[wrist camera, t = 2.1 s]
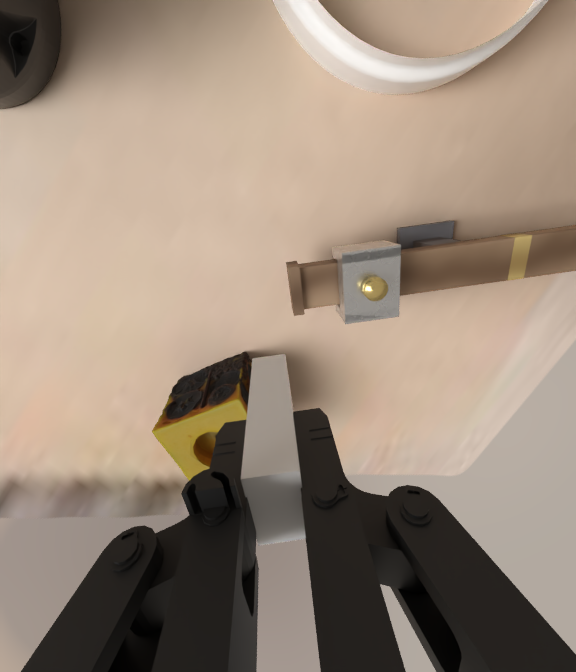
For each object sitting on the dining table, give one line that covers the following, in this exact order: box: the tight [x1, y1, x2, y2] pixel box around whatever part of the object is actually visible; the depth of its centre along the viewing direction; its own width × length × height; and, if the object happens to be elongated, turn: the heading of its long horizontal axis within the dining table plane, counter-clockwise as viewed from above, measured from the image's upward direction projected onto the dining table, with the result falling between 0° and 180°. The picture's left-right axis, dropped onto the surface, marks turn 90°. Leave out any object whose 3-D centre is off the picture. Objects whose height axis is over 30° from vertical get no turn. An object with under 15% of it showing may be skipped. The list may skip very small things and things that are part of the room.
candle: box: [152, 352, 252, 481], centre depth 36 cm, size 10×10×10 cm
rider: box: [332, 240, 401, 324], centre depth 27 cm, size 6×5×5 cm
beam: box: [286, 221, 576, 316], centre depth 31 cm, size 7×32×8 cm, turn 97°
